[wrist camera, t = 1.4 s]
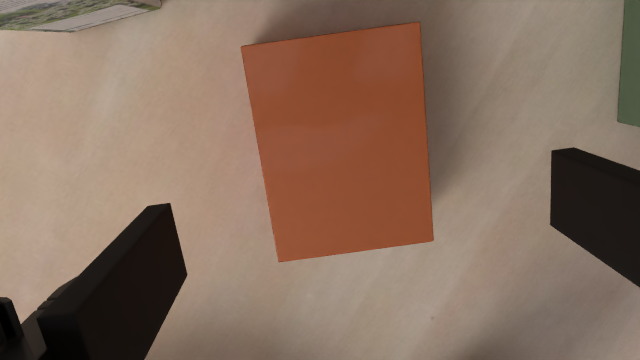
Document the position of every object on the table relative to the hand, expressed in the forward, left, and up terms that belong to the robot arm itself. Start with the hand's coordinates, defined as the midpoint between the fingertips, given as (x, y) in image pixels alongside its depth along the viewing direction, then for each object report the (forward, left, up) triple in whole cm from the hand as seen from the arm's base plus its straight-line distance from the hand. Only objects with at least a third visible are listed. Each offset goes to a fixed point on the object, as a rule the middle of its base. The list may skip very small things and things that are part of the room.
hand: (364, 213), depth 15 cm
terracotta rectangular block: (0, 0, -13) cm, 13 cm away
